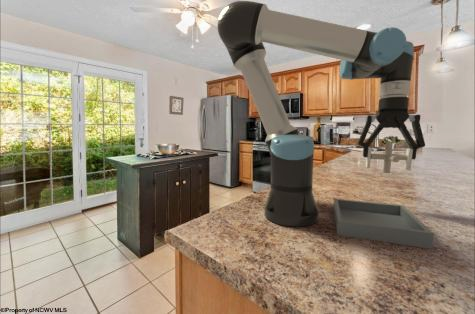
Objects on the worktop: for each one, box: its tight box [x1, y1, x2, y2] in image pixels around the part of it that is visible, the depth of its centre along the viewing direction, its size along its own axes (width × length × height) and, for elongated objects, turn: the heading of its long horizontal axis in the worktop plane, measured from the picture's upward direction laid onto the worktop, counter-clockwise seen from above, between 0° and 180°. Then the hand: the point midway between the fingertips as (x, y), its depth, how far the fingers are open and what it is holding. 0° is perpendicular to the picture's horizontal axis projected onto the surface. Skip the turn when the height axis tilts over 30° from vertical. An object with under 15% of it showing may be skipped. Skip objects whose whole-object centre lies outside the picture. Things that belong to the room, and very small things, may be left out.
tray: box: [333, 198, 434, 250], centre depth 56 cm, size 18×18×3 cm
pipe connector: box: [370, 140, 407, 174], centre depth 69 cm, size 10×10×10 cm
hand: (386, 168), depth 69 cm, fingers closed on pipe connector, 10 cm apart
